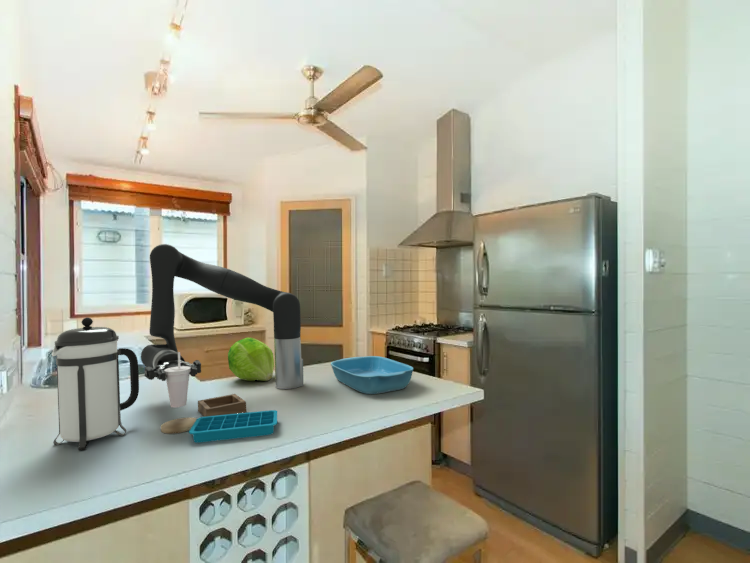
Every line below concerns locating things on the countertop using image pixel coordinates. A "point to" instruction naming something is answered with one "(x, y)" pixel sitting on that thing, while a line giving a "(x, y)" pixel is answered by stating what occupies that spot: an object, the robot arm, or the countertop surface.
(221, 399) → the square wooden frame
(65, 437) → the coffee press
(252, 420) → the ice cube tray
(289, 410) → the countertop surface
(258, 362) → the lettuce
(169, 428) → the trivet
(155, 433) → the countertop surface
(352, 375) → the casserole dish
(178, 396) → the smoothie
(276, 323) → the robot arm
